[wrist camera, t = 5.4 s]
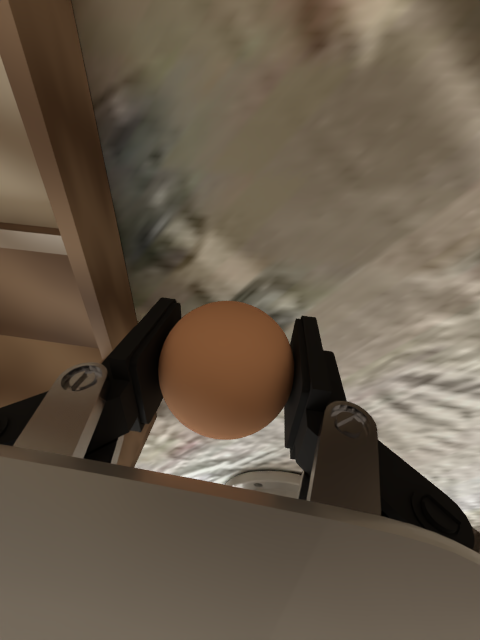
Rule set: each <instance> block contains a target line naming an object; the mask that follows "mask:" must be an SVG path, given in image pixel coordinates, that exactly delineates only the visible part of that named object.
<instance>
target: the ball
mask: <svg viewBox="0 0 480 640" xmlns="http://www.w3.org/2000/svg"><path fill="white" fill-rule="evenodd" d="M158 376H159V384H160V389H161V392H162V395H163V398H164V400H165V402H166V404H167V405H168V407H169V409H170V411H171V412H172V413H173V414H174V416H175V417H176V418H177V419H178V420H179V421H180V422H181V423H182V424H183V425H185V426H186V427H187V428H189V429H191V430H192V431H194V432H196V433H198V434H200V435H203V436H206V437H209V438H214V439H238V438H242V437H245V436H248V435H251V434H254V433H256V432H258V431H259V430H261V429H263V428H264V427H266V426H267V425H268V424H269V423H270V422H272V421H273V420H274V419H275V418H276V417H277V416H278V414H279V413H280V412H281V410H282V409H283V407H284V406H285V404H286V402H287V400H288V398H289V396H290V393H291V390H292V385H293V378H294V358H293V353H292V349H291V346H290V344H289V341H288V339H287V337H286V335H285V333H284V332H283V330H282V329H281V328H280V326H279V325H278V324H277V323H276V322H275V321H274V320H273V319H272V318H271V317H270V316H269V315H267V314H266V313H265V312H263V311H261V310H260V309H258V308H256V307H254V306H251V305H249V304H245V303H241V302H236V301H218V302H213V303H209V304H205V305H203V306H200V307H198V308H196V309H194V310H192V311H191V312H189V313H188V314H186V315H185V316H184V317H183V318H182V319H181V320H179V321H178V322H177V324H176V325H175V326H174V327H173V329H172V330H171V331H170V332H169V334H168V336H167V338H166V340H165V342H164V344H163V347H162V350H161V353H160V357H159V366H158Z"/></svg>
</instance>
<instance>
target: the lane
mask: <svg viewBox="0 0 480 640" xmlns="http://www.w3.org/2000/svg"><path fill="white" fill-rule="evenodd" d="M136 325H137V319H136V314H135V309H134V304H133V299H132V295H131V290H130V285H129V280H128V275H127V270H126V265H125V261H124V256H123V251H122V246H121V241H120V236H119V231H118V227H117V222H116V217H115V212H114V207H113V202H112V197H111V193H110V188H109V183H108V178H107V173H106V168H105V163H104V159H103V154H102V149H101V144H100V139H99V134H98V129H97V125H96V120H95V115H94V110H93V105H92V100H91V95H90V91H89V86H88V81H87V76H86V71H85V66H84V61H83V57H82V52H81V47H80V42H79V37H78V32H77V27H76V23H75V18H74V13H73V8H72V3H71V0H0V408H1V407H4V406H7V405H10V404H13V403H15V402H18V401H21V400H24V399H27V398H30V397H32V396H35V395H38V394H41V393H44V392H47V391H49V390H50V388H51V387H52V385H53V384H54V382H55V381H56V379H57V378H58V377H59V376H60V374H61V373H63V372H64V371H65V370H67V369H68V368H70V367H73V366H75V365H78V364H81V363H87V362H95V363H100V364H101V363H102V362H103V361H104V360H105V359H106V358H107V356H108V355H109V354H110V353H111V352H112V351H113V350H114V349H115V347H116V346H117V345H118V344H119V343H120V342H121V341H122V340H123V339H124V337H125V336H126V335H127V334H128V333H129V332H130V331H131V330H132V328H133V327H134V326H136ZM156 418H157V416H156V413H155V415H154V417H153V419H152V421H151V422H150V423H149V424H145V426H144V428H143V429H142V431H141V432H136V431H130V432H129V433H127V434H125V435H124V440H123V443H122V447H121V450H120V454H119V457H118V461H117V465H122V466H127V467H133V468H134V467H135V464H136V462H137V460H138V458H139V455H140V453H141V451H142V449H143V447H144V444H145V442H146V440H147V438H148V435H149V433H150V431H151V429H152V427H153V424H154V422H155V420H156Z"/></svg>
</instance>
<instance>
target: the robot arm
mask: <svg viewBox="0 0 480 640" xmlns="http://www.w3.org/2000/svg"><path fill="white" fill-rule="evenodd" d="M179 320H181V306H180V303H177V302H176V300H175V299H170V298H160V300H159V301H158V302H157V303H156V304H155V305H154V306H153V307H152V309H151V310H150V311H149V312H148V313H147V314H146V315H145V316H144V318H143V319H142V320H141V321H140V322H139V323H138V324H137V325H136V326H134V327H133V328H132V330H131V331H130V332H129V333H128V334H127V335H126V336H125V337H124V339H123V340H122V341H121V342H120V343H119V344H118V345H117V346H116V347H115V349H114V350H113V351H112V352H111V353H110V354H109V355H108V356H107V358H106V359H105V360H104V361H103V362H102V363H101V364H100V363H95V362H87V363H81V364H78V365H75V366H73V367H70V368H68V369H67V370H65V371H64V372H63V373H61V374H60V376H59V377H58V378H57V379H56V381H55V382H54V384H53V385H52V387H51V388H50V390H49V391H47V392H44V393H41V394H38V395H35V396H32V397H30V398H27V399H24V400H21V401H18V402H15V403H13V404H10V405H7V406H4V407H1V408H0V640H480V531H479V532H478V531H477V530H475V529H474V528H473V527H472V526H471V524H470V523H469V521H468V519H467V517H466V515H465V514H464V513H463V511H462V510H461V509H460V508H459V506H458V505H457V504H456V503H455V502H454V501H453V500H452V499H450V498H449V497H448V496H447V495H446V494H445V493H443V492H442V491H441V490H440V489H438V488H437V487H436V486H435V485H433V484H432V483H431V482H430V481H429V480H427V479H426V478H425V477H424V476H422V475H421V474H420V473H419V472H417V471H416V470H415V469H414V468H412V467H411V466H410V465H409V464H407V463H406V462H405V461H404V460H402V459H401V458H400V457H399V456H397V455H396V454H395V453H394V452H392V451H391V450H390V449H389V448H388V447H386V446H385V445H384V444H383V443H381V442H380V441H379V440H378V435H377V427H376V423H375V422H374V420H373V418H372V417H371V416H370V415H369V414H368V413H367V412H366V411H365V410H364V409H362V408H361V407H360V406H358V405H356V404H353V403H351V402H347V401H346V397H345V393H344V390H343V386H342V382H341V378H340V375H339V371H338V367H337V364H336V360H335V356H334V353H333V352H331V351H324V350H323V348H322V343H321V338H320V334H319V329H318V324H317V320H316V318H315V317H307V316H301V319H296V320H295V325H294V329H293V334H292V338H291V343H290V346H291V349H292V353H293V358H294V378H293V385H292V390H291V393H290V396H289V398H288V400H287V402H286V404H285V406H284V419H285V448H290V459H295V460H296V462H297V464H298V465H299V466H300V467H301V468H302V469H303V471H302V475H298V474H295V473H289V472H283V471H254V472H247V473H244V474H240V475H237V476H235V477H233V478H232V479H230V480H229V481H228V482H227V483H226V484H225V485H223V484H218V483H213V482H207V481H202V480H197V479H191V478H186V477H181V476H175V475H170V474H165V473H159V472H154V471H149V470H143V469H138V468H133V467H127V466H122V465H117V461H118V457H119V454H120V450H121V447H122V443H123V440H124V435H125V434H127V433H129V432H130V431H136V432H141V431H142V429H143V428H144V426H145V424H149V423H150V422H151V421H152V419H153V417H154V415H155V413H156V411H157V409H158V407H159V405H160V403H161V401H162V399H163V395H162V392H161V389H160V384H159V376H158V366H159V357H160V353H161V350H162V347H163V344H164V342H165V340H166V338H167V336H168V334H169V332H170V331H171V330H172V329H173V327H174V326H175V325H176V324H177V322H178V321H179Z"/></svg>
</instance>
